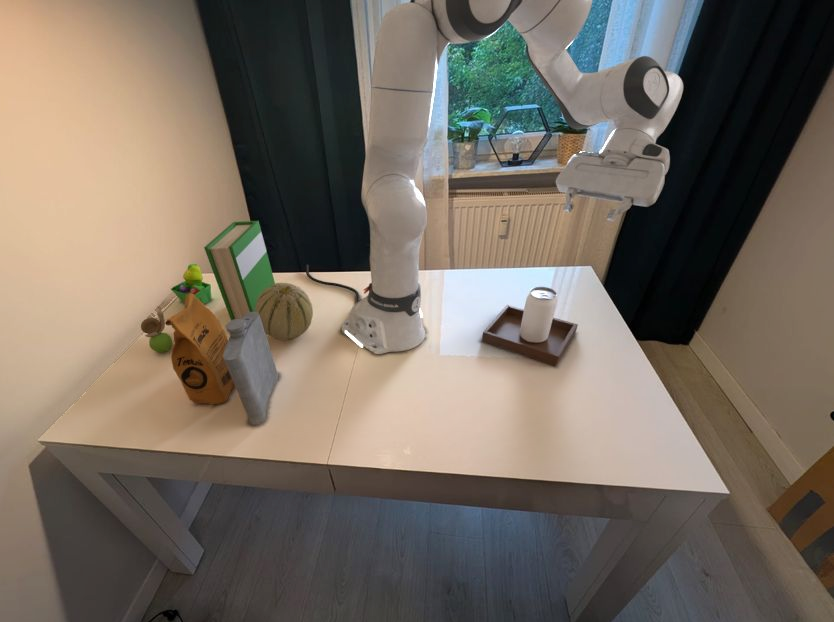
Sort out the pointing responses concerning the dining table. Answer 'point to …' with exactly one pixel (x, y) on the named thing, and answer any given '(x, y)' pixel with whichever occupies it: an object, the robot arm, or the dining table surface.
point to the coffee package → (200, 353)
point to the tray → (508, 337)
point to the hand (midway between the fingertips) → (587, 214)
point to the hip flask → (250, 364)
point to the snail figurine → (157, 333)
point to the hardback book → (240, 266)
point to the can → (538, 314)
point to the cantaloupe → (284, 311)
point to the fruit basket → (193, 285)
